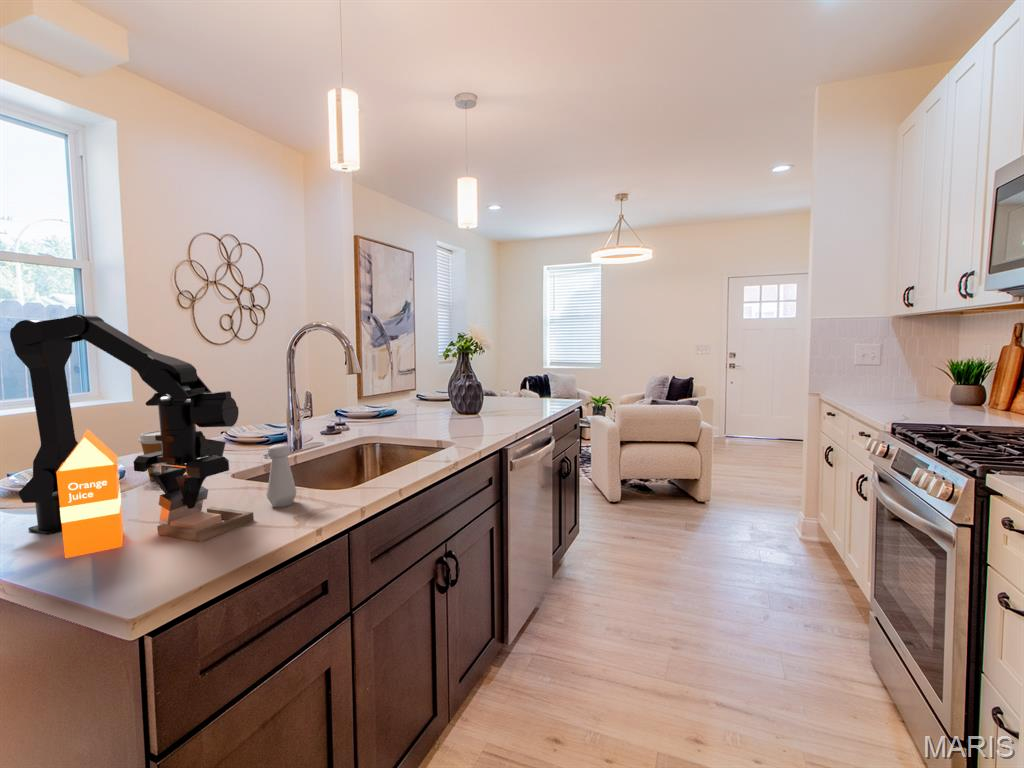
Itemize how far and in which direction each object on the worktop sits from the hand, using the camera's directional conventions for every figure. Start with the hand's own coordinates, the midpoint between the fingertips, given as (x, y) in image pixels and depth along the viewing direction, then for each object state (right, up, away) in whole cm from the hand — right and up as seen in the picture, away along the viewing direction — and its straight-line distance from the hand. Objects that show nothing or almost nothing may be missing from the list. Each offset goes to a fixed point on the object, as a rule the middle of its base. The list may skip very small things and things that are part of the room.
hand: (184, 507), depth 98 cm
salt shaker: (+14, -2, +11) cm, 18 cm away
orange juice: (-10, -5, -9) cm, 14 cm away
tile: (+3, -4, -1) cm, 5 cm away
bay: (+5, -3, -2) cm, 6 cm away
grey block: (-1, -3, +1) cm, 3 cm away
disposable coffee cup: (-28, -1, +35) cm, 45 cm away
